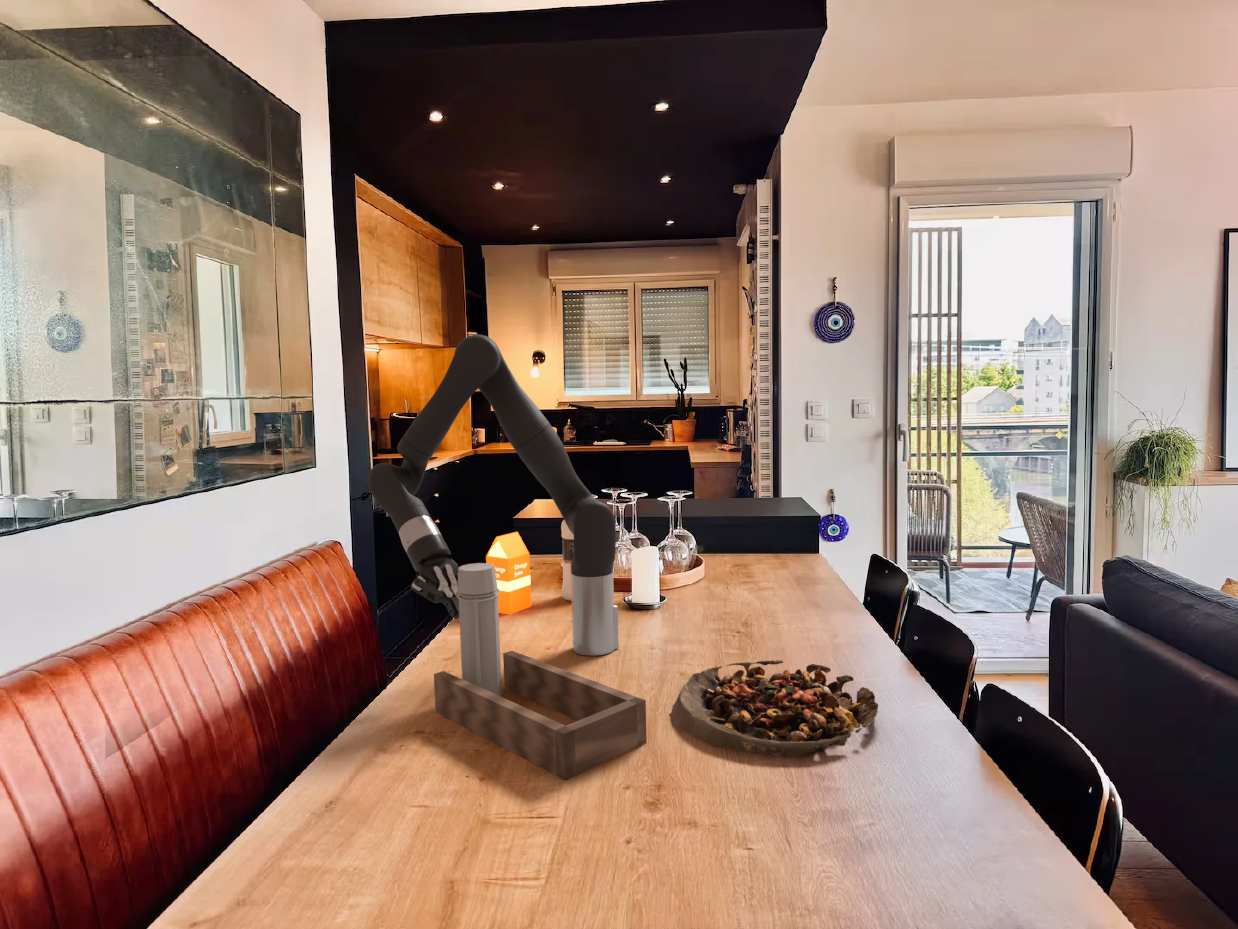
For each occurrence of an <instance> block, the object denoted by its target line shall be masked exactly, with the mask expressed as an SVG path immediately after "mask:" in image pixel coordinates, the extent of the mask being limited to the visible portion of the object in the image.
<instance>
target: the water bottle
mask: <svg viewBox="0 0 1238 929" xmlns="http://www.w3.org/2000/svg"><path fill="white" fill-rule="evenodd" d="M458 567H459V568H458V575H457V591H458V592H457V593H456V596H457V598H458V599H459V617H460V618H459V638H460V659H461V662H460V663H461V679H463V680H465V681H467V682H469V683H472V684H474V685H476V686H478V687H481V688H483V689H485V690H487V691H489V692H492V693H494V694H496V695H498V696H501V697H502V695H503V694H502V693H503V692H502V669H501V664H502V663H501V644H500V638H501V637H500V619H499V618H500V616H499V614H500V613H499V610H498V595H499V593H500V590H499V589H498V588H497V581H496V574H495V566H494V565H493V564H488V563H486V562H484V563H483V562H476V563H467V564H463V565H461V566H458ZM497 592H498V593H497ZM496 593H497V594H496ZM458 594H459V596H460V597H459V596H458Z"/></svg>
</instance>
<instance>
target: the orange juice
mask: <svg viewBox="0 0 1238 929" xmlns="http://www.w3.org/2000/svg"><path fill="white" fill-rule="evenodd" d="M522 539H523V538H522V536H520V534H519V532H518V531H515V532H514V531H513V532H510V533H506V534H502V535H498V536H497V535H496V537H495V539H494V541H493V542H492V545H490V546H491V547H490V548H489V550H488V552H487V553H486V555H485V561H486V562H485V563H488V564H493V565H494V566H495V574H496V581H497V588H498V589H499V590H500V593H499V595H498V610H499V614H506V615H513V614H515V613H518V612H520V611H523V610H526V609H528V608H530V607H532V594H531V592H532V590H531V584H532V583H531V562H530V560H531V559H530V552H529V550H528V549H527V546H526V545H525V543H524V541H523V540H522ZM497 593H498V592H497ZM497 593H496V594H497Z"/></svg>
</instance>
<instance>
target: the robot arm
mask: <svg viewBox="0 0 1238 929" xmlns="http://www.w3.org/2000/svg"><path fill="white" fill-rule="evenodd" d="M519 384H520V383H518V381H517V380H516V378H515V376H514V375H513V373H512V371H511V369H510V368H509V366H508V363H507V362H506V360H505V358H504V357H503V354H502V352H501V350H500V348H499V346H498V344H497V343H496V342H495V341H494V340H493V339H492V338H491V337H488V336H487V335H483V334H479V333H476V334H471V335H468V336H467V337H465V338H463V339H462V340H461V341H459V342H458V344H457V345H456V348H455V350H454V353H453V357H452V359H451V361H450V363H449V366H448V369H447V370H446V372H445V374H444V377H443V379H442V380H441V382H440V384H439V385H438V387H437V389H436V390H435V392H434V393H433V395H432V396H431V398H430V399H429V400H428V401H427V403H425V405H424V406H423V408H422V409H421V411H419V413H418V414H417V416H416V417H415V418H414V420H413V421H412V422H411V424H410V426H409V427H408V429H407V430H406V432H405V433H404V434H403V436H402V437H401V439H400V441H399V442H398V444H397V449H396V450H397V452H398V454H399V455H400V456H401V457H402V458H403V461H402V463H401V465H400V466H398V465H395V464H392V463H388V462H380V463H377V464H375V465H374V466H373V467H372V468H371V469H370V470H369V473H368V475H367V486H368V489H369V492H370V493H371V496H372V497H373V498H374V500H375V501H376V502H377V504H378V505H379V506H380V507H381V508H382V510H383V511H384V512H385V513H386V514H387V515H388V516H389V517H390V518H391V520H392V523H393V525H394V527H395V529H396V531H397V533H398V534H399V538H400V541H401V544H402V546H403V549H404V551H405V553H406V555H407V557H408V559H409V561H410V563H411V565H412V568H413V569H414V571H415V572H416V577H415V579H414V580H413V582H412V584H411V585H410V589H411V590H412V591H413V592H415V593H417V594H419V596H421V597H424V598H425V599H426V600H428V601H430V602H432V603H433V604H435V605H436V604H438V603H442V604H443V605H444V606H445V607H446V609H447V611H448V613H449V616H450V617H451V618H453V619H454V620H460V617H459V599H458V598H457V596H456V593H457V592H458V591H457V586H458V580H457V576H458V568H459V567H460V566H459V565H458V563H457V562H455V560H453V558H452V554H451V550H450V548H449V547H448V544H447V543H446V542H445V540H444V537H443V535H442V534H441V532H440V530H439V528H438V526H437V524H436V523H435V522H434V521H433V519H432V517H431V516H430V513H429V511H428V509H427V507H426V506H425V504H424V502H423V501H422V500H421V499H420V498H418V497H417V496H415V495H416V493H417V492H418V491H419V488H420V486H421V484H422V481H423V478H424V475H425V473H426V470H427V467H428V463H429V461H430V459H431V458H432V456H433V455H434V454H435V452H436V451H437V450H438V448H439V447H440V445H441V444H442V442H443V440H444V439H445V437H446V435H447V434H448V433H449V430H450V429H451V427H452V425H453V424H454V421H455V420H456V419H457V417H458V415H459V413H460V412H461V411H462V410H463V408H464V406H465V405H466V403H467V402H468V401H469V399H470V398H471V397H472V396H473V395H474V394H475V393H476V391H478V390H479V391H480V392H481V393H482V395H483V396H484V397H485V398H486V400H487V401H488V403H489V404H490V406H491V408H492V411H493V412H494V414H495V416H496V418H497V420H498V423H499V425H500V426H501V429H502V430H503V432H504V434H505V437H506V438H507V440H508V442H509V443H510V445H511V446H512V447H513V450H515V452H516V454H517V455H518V456H519V458H520V459H521V461H522V462H523V463H524V464H525V466H526V468H527V469H528V470H529V471H530V472H531V473H532V475H533V476H534V477H535V479H536V480H537V481H538V482H539V483H540V485H542V487H543V488H544V489H545V490H546V491H547V493H548V494H549V496H550V497H551V498H552V501H553V503H555V506H556V507H557V509H558V511H559V513H560V514H561V516H562V518H563V520H565V522H566V524H567V526H568V528H569V530H570V531H571V532H572V533H573V534H574V556H573V559H572V561H571V591H572V601H571V619H572V621H571V624H572V650H573V652H574V653H575V654H578V655H581V656H591V657H593V656H603V655H606V654H610V653H612V652H614V651H615V650H617V649H619V641H620V640H619V608H618V605H616V604H615V601H614V600H615V598H614V597H615V596H614V594H615V593H614V592H615V591H614V590H615V588H614V587H615V586H614V563H615V559H616V544H617V541H616V540H617V539H616V538H617V537H616V533H617V531H616V530H617V528H616V518H615V514H614V512H613V510H612V509H611V507H610V506H608V505H607V504H605V502H602V501H600V500H598V499H596V497H595V496H594V495H593V494H592V493H591V492H590V490H588V488H587V487H586V486H585V485H584V483H583V482H582V481H581V479H580V478H579V476H578V475H577V473H576V471H575V469H574V467H573V465H572V462H571V460H570V457H569V455H568V452H567V449H566V448H565V445H564V444H563V442H562V440H561V438H560V436H559V435H558V434H557V432H556V431H555V429H554V428H553V427H552V426H553V425H552V424H551V423H550V421H548V419H547V418H546V417H545V416H544V414H543V412H542V411H541V410H540V409H539V407H538V406H537V405H536V403H535V402H534V401H533V399H531V398H530V397H529V395H528V394H527V393H526V392H525V390H524V389H523V388H522V387H521V385H519ZM458 596H459V594H458ZM459 597H460V596H459Z"/></svg>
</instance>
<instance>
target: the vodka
mask: <svg viewBox="0 0 1238 929" xmlns="http://www.w3.org/2000/svg"><path fill="white" fill-rule="evenodd" d="M560 525H561V526H560V529H561V534H560V535H561V538H562V540H561V542H562V562H561V564H562V587H561V597H562V599H564V600H565V601H569V602H572V591H571V561H572V559H573V556H574V534H573V533H572V532H571V531H570V530H569V528H568V526H567V524H566V522H565V520H564V519H563V520H562V522H561V524H560Z"/></svg>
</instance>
